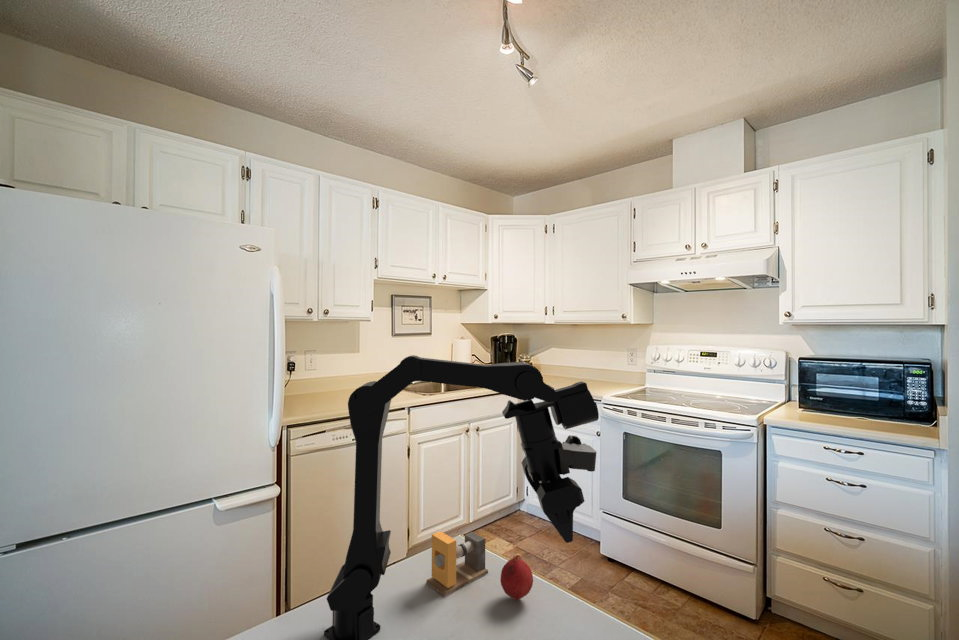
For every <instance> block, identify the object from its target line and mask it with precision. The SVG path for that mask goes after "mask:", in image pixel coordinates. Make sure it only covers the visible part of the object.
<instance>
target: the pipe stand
mask: <svg viewBox="0 0 959 640" xmlns="http://www.w3.org/2000/svg"><path fill="white" fill-rule="evenodd" d="M463 557H464V560H463V562H461V563H458V564H456V584H455V585H453V586H451V587H449V588H447V587H446V586H444V585H443V584H441V583H440V582H439V581H437V580H436V579H434V578H433V577H432V576H431V577H430V578H427V579H426V580H425V581H426V582H425V583H426V585H428V586H429V587H431V588H432V589H434V590H435V591H436V592H438V593H439V594H441V595H442V596H443V597H447V596H448V595H450V594H452V593H454V592H456V591H458V590H460V589H461V588H463V587H465V586H467V585H469V584H471V583H472V582H474V581H476V580H477V579H480V578H481V577H484V576H485V575H487V574H489V570H488V569H487V568H486V538H485V537H483V536H481V535H479V534H477V533H475V532H474V531H470V532H468V533H465V534H464V543H459V544H458V545H456V560H458V559H460V558H463ZM434 562H435V564H436V566H437V567H441V566H443V565H445V556H444V555H443V554H439V555H437V556H435V558H434Z"/></svg>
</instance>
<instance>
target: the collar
mask: <svg viewBox="0 0 959 640" xmlns="http://www.w3.org/2000/svg"><path fill="white" fill-rule="evenodd" d="M456 547H457V540H456V539H454V538H453V537H451V536H449V535H448V534H446V533H444V532H442V531H436V532H434V533H432V534H431V578H432V577H433V578H434V579H436V580H437V581H439V582H440V583H441V584H443V585H444V586H446V587H447V588H449V587H451V586H453V585H455V584H456V565H457V559H456ZM439 554H443V555H444V556H445V565H443V566H441V567H437V566H436V564H435V562H434V558H435V556H437V555H439Z"/></svg>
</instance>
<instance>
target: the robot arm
mask: <svg viewBox="0 0 959 640" xmlns="http://www.w3.org/2000/svg"><path fill="white" fill-rule="evenodd" d="M413 382H425V383H432V384H433V383H435V384H443V385H452V386H453V385H454V386H461V387H472V388H479V389H480V388H481V389H486V390H490V391H493V392H496V393H498V394H500V395H503V396H508V397H511V398H513V399H517V400H521V401H520V402H517V403H515V402H513V401H512V400H508V401H507V402H506V403H507V404H506V406H505V407H504V409H503V410H502V415H503V417H504V419H506V420H507V419H511V418H512V419H513V418H515V422H516V426H517V429H518V433H519V437H520V441H521V443H520V446H521V449H522V452H523V453H524V457H523V459H522V461H521V466H522V471H523V473H524V475H525V477H526V480H527V481H528V483H529V485H530V486H531V488H532V489H533V491H534V492H535V493H536V496H537V499H538V502H539V506H540V507H541V510H542V512H543V513H544V515H545V516H546V517H547V519H548V521H550V522H551V525H552V526H553V527H554V528H555V529H556V531H557V532H558V533H559V535H560V536H561V538H562V539H563V540H564V542H565V543H566V544H568V543H571V542H573V541H574V513H575V512H574V511H575V510H576V508H578V507H580V506H581V505H582V504H584V502H585V497H584V493H583V491H582V487H580V485H579V484H578V483H577V482H576V480H574V479H573V478H571V477H569V476H566V477H561V475H562V476H565V475H567V474H568V475H569V474H571V473H570V469H572V470H584V471H587V472H596V463H597V462H596V461H597V450H595V449H594V448H593V447H592V446H591V445H590V444H586V443H585V442H583V443H582V441H581V439H580V437H578V435H568V436H567V438H566V440H565V441H563V442H561V441H560V440H559V439H558V438H557V436H556V432H555V429H554V425H553V421H554V423H555V425H556V426H559V425H561V426H562V428H563V429H564V430H569V429H572V428H573V429H574V428H575V427H579V426H583V425H587V424H589V423H594V422H597V421H598V420H599V418H600V414H599V409H598V405H597V402H596V401H595V399H594V397H593V395H592V393H591V392H590V390H589V388H588V383H587V382H584V381H578V382H575V383H573V384H571V385H568V386H565V387H560V388H556V389H555V388H554V387H552V386H551V385H550V384H547V383H546V382H544V378H543V375H542V373H541V371H540V370H539V369H538V368H537V367H535V366H534V365H532V364H529V363H527V362H525V361H516V362H515V361H514V362H502V363H501V362H500V363H492V364H482V363H473V362H472V363H471V362H465V361H464V362H463V361H457V360H455V361H454V360H453V361H452V360H445V359H437V358H436V359H435V358H428V357H420V356H418V355H415V354H413V355H409V356H406V357H404V358H403V359H402V360H401V361H400V362H399V364H397V365H396V366H395V367H394V368H392V369H391V370H390V371H388V372H387V373H386V374H385V375H384V376H382V377H380V379H378V380H377V381H376V380H374V381H367V382H365V383H364V384H363V385H361V386H359V387H357V388H356V389H355V390H354V391H352V392H351V394H350V395H349V397H348V401H347V409H348V410H347V411H348V416H349V423H350V427H351V431H352V433H353V437H354V440H355V459H354V460H355V463H354V464H355V465H354V467H355V468H354V470H355V471H354V490H353V491H354V496H353V498H354V501H353V521H352V522H353V525H352V526H353V527H352V528H353V529H352V534H351V537H350V542H349V545H348V549H347V553H346V555H345V556H346V557H345V561H344V564H343V565H341V567H340V570H339V572H338V573H337V576H336V577H335V580H334V582H333V584H332V586H331V588H330V590H329V593H328V595H327V596H326V601H327V603H328V607H329V609H330V611H331V612H332V621H331V626H329V627H328V628H326V629H325V630H324V631H323V636H324V637H326V638H327V639H328V640H368V639H370V638H371V637H372V636H374V635H375V634H376V633H378V632H380V630H381V624H379V623H378V622H376V621H375V620H374V619H375V607H374V595H373V594H372V592H373V591H374V590H375V589H376V588H377V587H378V585H379V583H380V581H381V576H384V575H385V574H386V571H387V566H388V564H389V559H390V557H391V556H390V555H391V549H390V544H389V543H390V538H391V533H392V531H391V530H390V529H389V530H385V531H384V530H383V528H382V525H381V519H380V518H381V494H382V493H381V489H382V488H381V487H382V485H381V484H382V483H381V482H382V455H383V451H382V450H383V436H384V431H385V428H386V424H387V421H388V416H389V412H390V408H391V407H390V406H391V403H392V399H394V398H395V397H396V396H398V394H400V393H401V392H403V390H404V389H406V388H407V387H408V386H409V385H410V384H412V383H413ZM534 399H538V400H540V401H539V402H534V401H533V400H534ZM550 410H551V411H550ZM550 412H551V414H550ZM551 415H552V416H551ZM551 417H552V418H553V421H552V418H551Z"/></svg>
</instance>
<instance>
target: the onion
mask: <svg viewBox="0 0 959 640" xmlns="http://www.w3.org/2000/svg"><path fill="white" fill-rule="evenodd" d="M521 558H522V555H521V554H520V553H515V555H514V556H513V557H512V558H511V559H509V560H508V561H507V562H506V563H505V564H504V565H503V566H502V569H501V573H500V578H499V579H500V585H501V587H502V590H503V591H504V593H505V594H506V595H507V596H508V597H510V598H511V599H513V600H515V601H520V600H521V599H523V598H524V597H526V596H527V595H528V594H529V593H530V591H531V590H532V588H533V585H534V576H533V571H532V569H531V567H530V566H529V565H528V563H527V562H526V561H524V560H523V559H521Z"/></svg>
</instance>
